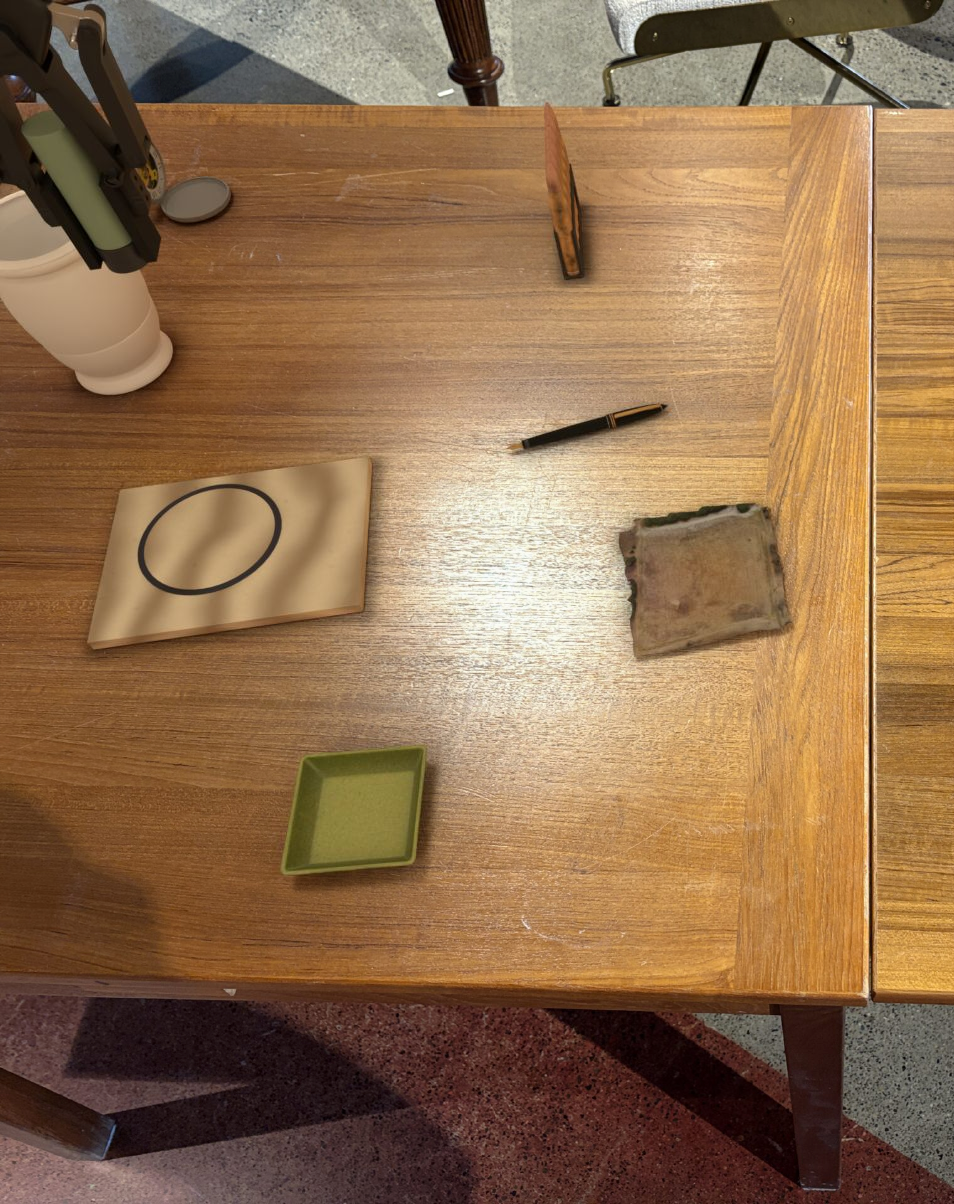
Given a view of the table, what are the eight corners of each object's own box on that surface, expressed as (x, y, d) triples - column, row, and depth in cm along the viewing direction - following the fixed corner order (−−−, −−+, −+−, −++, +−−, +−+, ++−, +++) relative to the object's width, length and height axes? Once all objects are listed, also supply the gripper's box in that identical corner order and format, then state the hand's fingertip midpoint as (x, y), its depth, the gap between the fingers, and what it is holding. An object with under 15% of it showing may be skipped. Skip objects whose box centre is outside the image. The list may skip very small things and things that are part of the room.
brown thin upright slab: (561, 208, 115) (536, 97, 105) (580, 206, 115) (556, 95, 105) (564, 279, 109) (537, 169, 99) (583, 277, 109) (559, 167, 99)
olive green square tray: (423, 876, 77) (414, 864, 75) (290, 887, 76) (278, 875, 75) (436, 757, 81) (427, 743, 80) (311, 767, 81) (300, 754, 79)
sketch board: (93, 649, 87) (85, 642, 86) (126, 497, 95) (119, 488, 94) (363, 611, 88) (358, 603, 88) (372, 464, 97) (368, 455, 96)
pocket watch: (242, 209, 116) (197, 119, 108) (158, 241, 113) (106, 151, 105) (215, 168, 120) (170, 78, 112) (134, 199, 117) (81, 108, 109)
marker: (103, 276, 83) (14, 140, 74) (110, 248, 85) (24, 111, 76) (149, 270, 84) (66, 134, 74) (155, 242, 85) (74, 105, 76)
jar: (62, 341, 106) (-40, 203, 93) (179, 309, 108) (94, 169, 96) (70, 420, 100) (-37, 284, 88) (193, 384, 102) (105, 246, 90)
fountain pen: (506, 460, 97) (501, 448, 96) (503, 450, 97) (498, 438, 96) (671, 415, 99) (669, 403, 98) (667, 405, 100) (665, 393, 99)
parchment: (769, 501, 94) (768, 494, 93) (796, 635, 86) (796, 628, 86) (616, 524, 93) (615, 516, 92) (631, 661, 85) (629, 654, 85)
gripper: (-264, -38, 62) (-2, 303, 81) (52, -72, 63) (236, 272, 82) (-220, -105, 66) (20, 235, 85) (76, -135, 67) (245, 206, 87)
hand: (125, 253), depth 84 cm, fingers closed on marker, 3 cm apart
